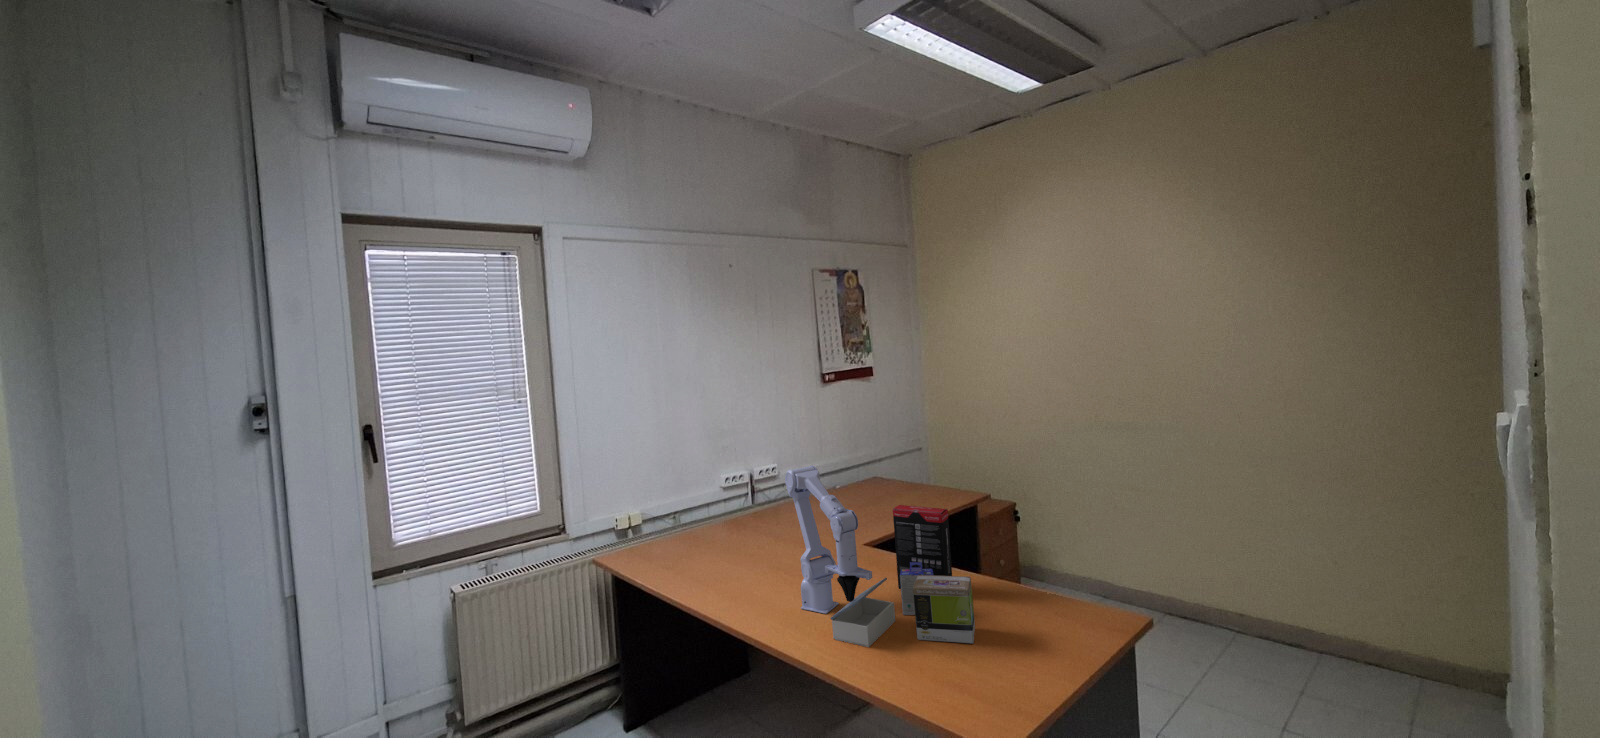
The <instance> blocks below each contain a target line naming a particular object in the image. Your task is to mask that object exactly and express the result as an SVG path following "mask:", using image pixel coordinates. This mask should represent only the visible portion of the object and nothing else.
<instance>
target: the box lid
mask: <svg viewBox="0 0 1600 738" xmlns="http://www.w3.org/2000/svg"><path fill="white" fill-rule="evenodd" d="M887 580H888V577H885V578H883V579H881V580H879V581H878V582H876V583H875V584H873V585H872V586H870V587H869V588H867V589H865V590H864V591H862V592H861V593H859V594H858V595H857V596H856V597H854V600H853V601H852V602H848V603H847V604H845V606H843V607H842V608H841V609H840V610H839V611H837V612H836V613H834V614H833V615H832V616H831V617H829V618H830V620H831V621H832V619H834V618H835V617H837V616H839V615H840V614H842V613H843V612H845V611H846V610H848V609H850V608H851V607H853V606H854V605H856V604H858V603H859V602H860V601H862V600H863V599H864V598H865V597H868V596H869V595H870V594H871V593H872V592H873V591H875V590H876V589H878V587H880V586H881V585H882V584H884V582H886V581H887Z"/></svg>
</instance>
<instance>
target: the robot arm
mask: <svg viewBox="0 0 1600 738" xmlns="http://www.w3.org/2000/svg"><path fill="white" fill-rule="evenodd" d="M820 474H821V473H820V471H819V470H818V468H817V467H816V465H813V464H812V465H810V466H804V467H799V468H794V469H788V470H786V472H785V478H784V482H785V488H786V490H787V493H788V496H789V498H792V499H793V503H794V507H795V510H796V511H795V512H796V515H797V519H798V523H799V526H800V531H801V534H802V538H803V542H804V546H805V551H804V553H803V554H802V555H801V557H800V560H799V561H800V565H801V571H800V572H801V575H802V577H803V579H802V581H801V584H800V594H801V605H802V606H800V609H801V610H805V611H811V612H816V613H821V614H824V615H825V614H828V613H829V612H831V611H832V610H833V609H834V608H836V607H837V606H838V605H840V603H839V602H838V601H834V599H833V586H832V579H833V578H834V575H838V577H837V578H836V580H837V582H838V583H839V585H840V587H841V589H842V591H843V594H844V596H845V600H846V602H848V603H850V602H852V601H853V600H854V598H855V595H856V590H857V585H858V584H859V580H860V579H865V580H867V581H870V580H872V579H873V571H872V570H868V569H864V568H862V567H859V565H858V554H857V553H858V552H857V544H856V542H857V541H856V533H855V532H856V530H857V529H858V527H859V519H858V516H857V515H856V513H855V511H854V510H853V509H849V508H846V507H845V506H844V505H843V504H842V503H841V501H840V500H839V499H838V498H837V497H836V496H835V495H834V494H829V492H828V490H827V489H826V488H825V486H824V484H823V482H822V481H821V477H820ZM811 494H812V496H814V497H815V498H816V499H817V500H818V501H819V509H820V510H821V511H822V512H823V514H824V515H825V516H826V517H827V519H828V520H829V521H830V522H829V524H830V528H831V531H832V535H833V539H834V540H835V548H836V560H837V561H835V559H834V557H833V555H832V553H831V550H830V549H829V548H827V547H825V546H822V542H821V538H820V534H819V530H818V527H817V523H816V519H815V515H814V511H813V508H812V503H811V501H810V495H811ZM836 562H837V563H836Z"/></svg>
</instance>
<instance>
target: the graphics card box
mask: <svg viewBox="0 0 1600 738" xmlns="http://www.w3.org/2000/svg"><path fill="white" fill-rule="evenodd" d="M892 518H893V530H894V543H895V545H894V546H895V556H896V558H895V560H896V575H897V586H898V587H897V588H898V589H900V590H901V584H900V572H901V569H902V570H904V569H910V562H922V569H932V570H933V575H934V576H953V568H952V567H953V566H952V556H951V555H952V554H951V553H952V551H951V541H950V537H951V536H950V527H949V526H950V525H949V523H950V522H949V509H947V508H938V507H925V506H916V505H915V506H914V505H906V504H905V505H903V504H899V505H896V506H895V507H894V508H893V509H892ZM912 567H920V565H912Z"/></svg>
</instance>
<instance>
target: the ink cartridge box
mask: <svg viewBox="0 0 1600 738" xmlns="http://www.w3.org/2000/svg"><path fill="white" fill-rule="evenodd" d="M912 565H920V567H912ZM918 575H933V570H932V569H922V562H910V569H904V570H902V569H901V572H900V584H901V589H900V593H901V594H900V596H901V608H902V615H903V616H915V608H914V597H913V586H914V584H915V581H916V578H917V576H918Z"/></svg>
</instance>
